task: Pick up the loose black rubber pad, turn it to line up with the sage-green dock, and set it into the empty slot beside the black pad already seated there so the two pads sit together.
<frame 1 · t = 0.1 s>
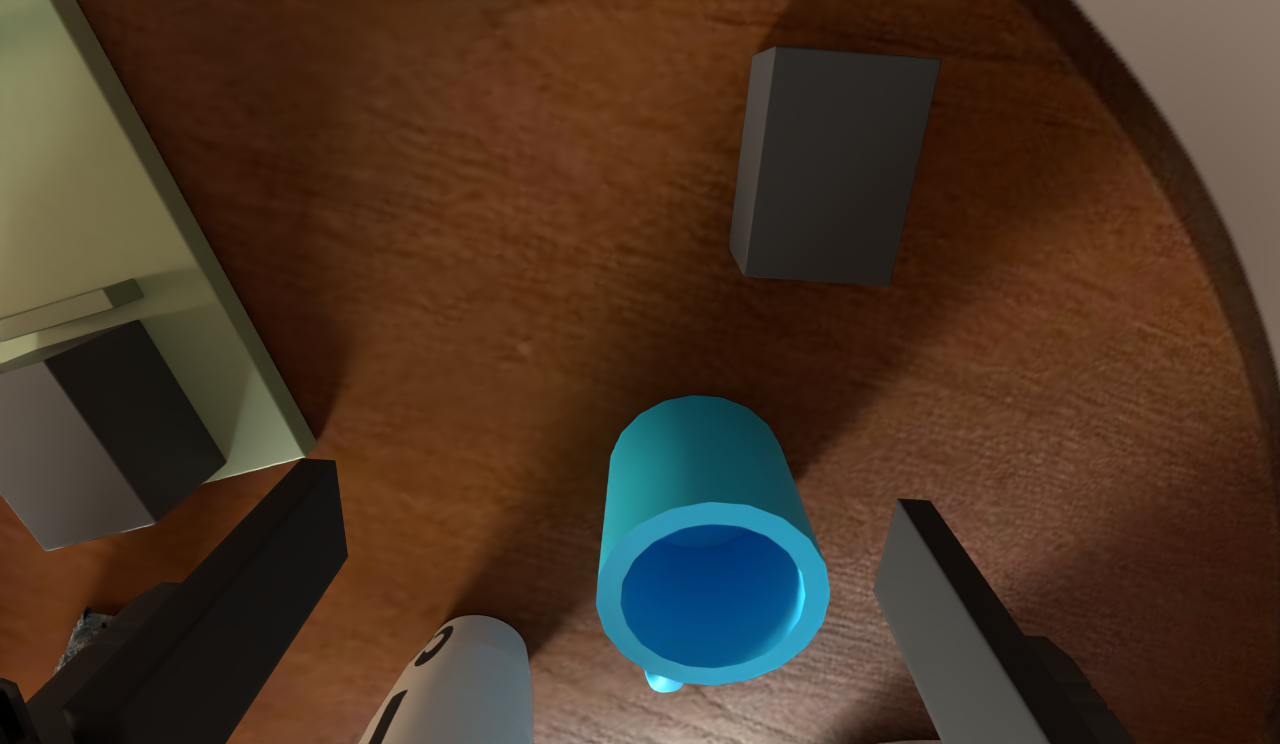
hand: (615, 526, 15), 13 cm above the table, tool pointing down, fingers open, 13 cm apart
dark cylinder on base: (137, 667, 36), on the table
pad: (804, 161, 25), on the table
cup: (481, 648, 35), on the table
mug: (685, 505, 31), on the table
dock: (83, 285, 27), on the table
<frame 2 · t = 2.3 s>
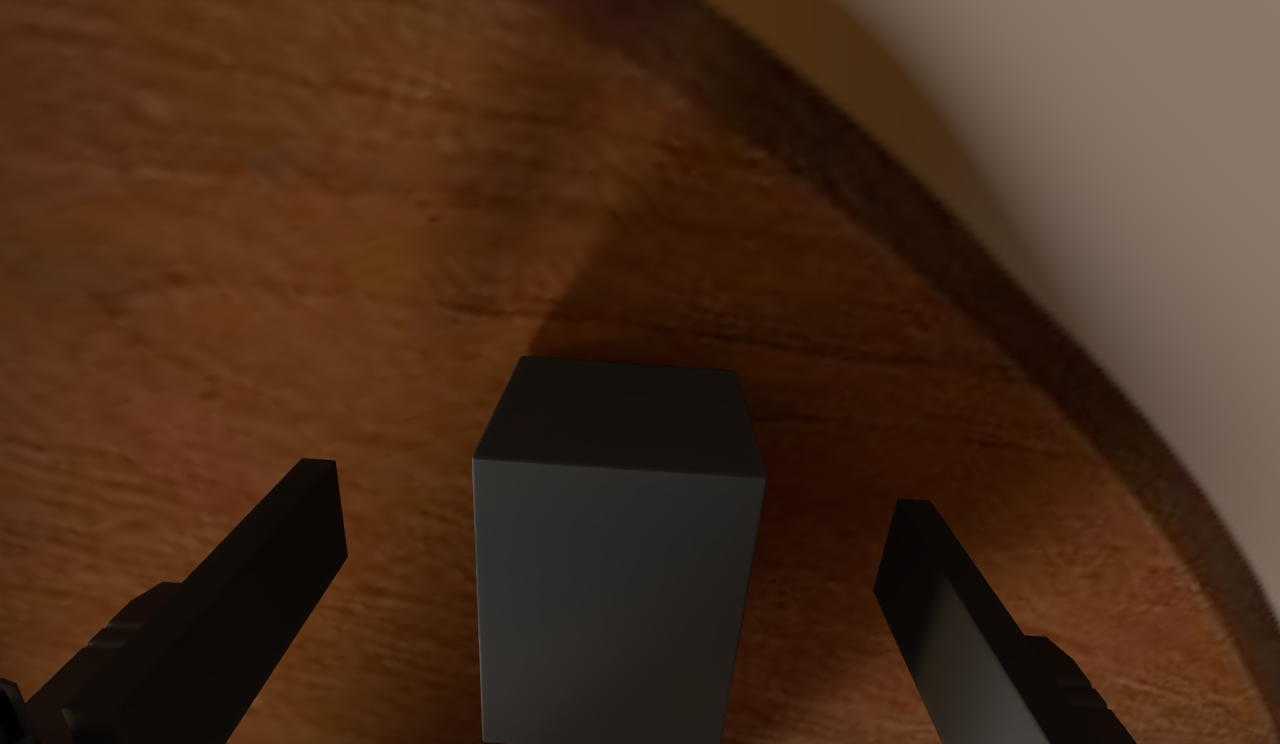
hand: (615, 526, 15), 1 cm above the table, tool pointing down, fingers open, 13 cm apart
pad: (619, 489, 16), on the table
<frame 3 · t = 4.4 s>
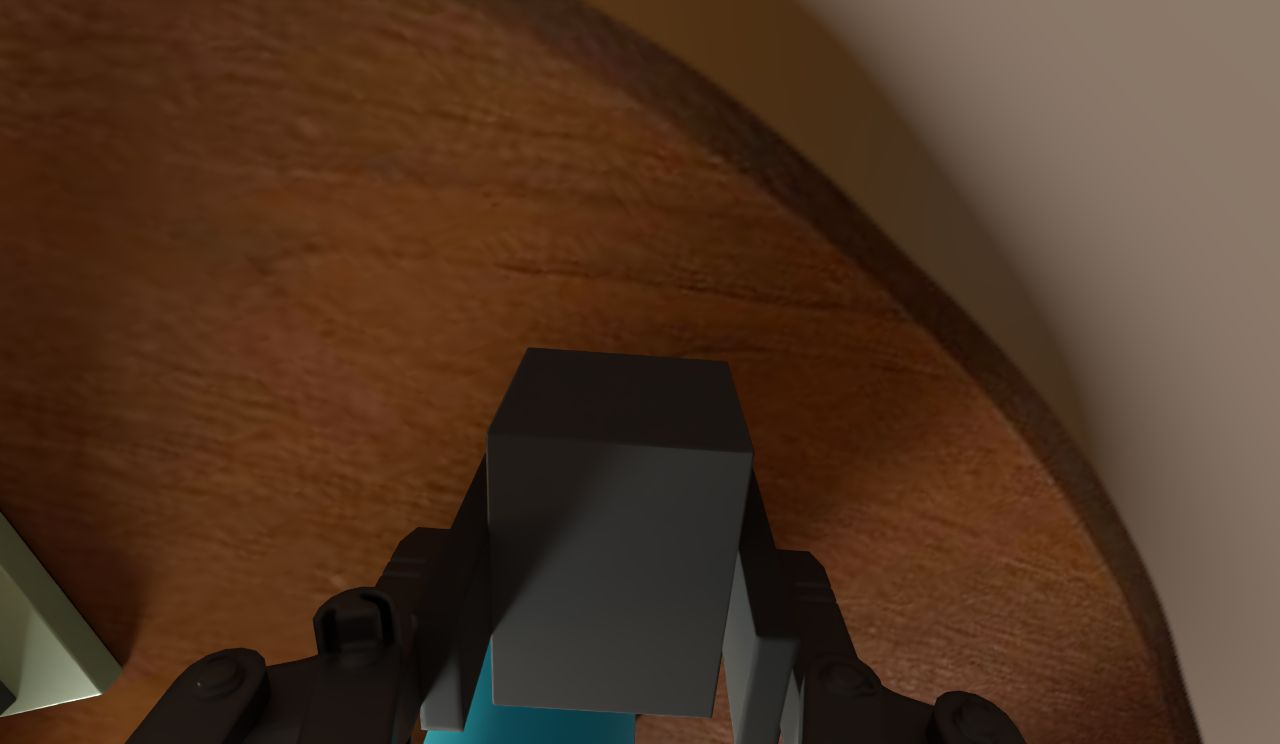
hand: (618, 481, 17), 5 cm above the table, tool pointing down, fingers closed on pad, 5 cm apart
pad: (619, 474, 17), point 5 cm above the table, touching gripper
mug: (532, 727, 28), on the table
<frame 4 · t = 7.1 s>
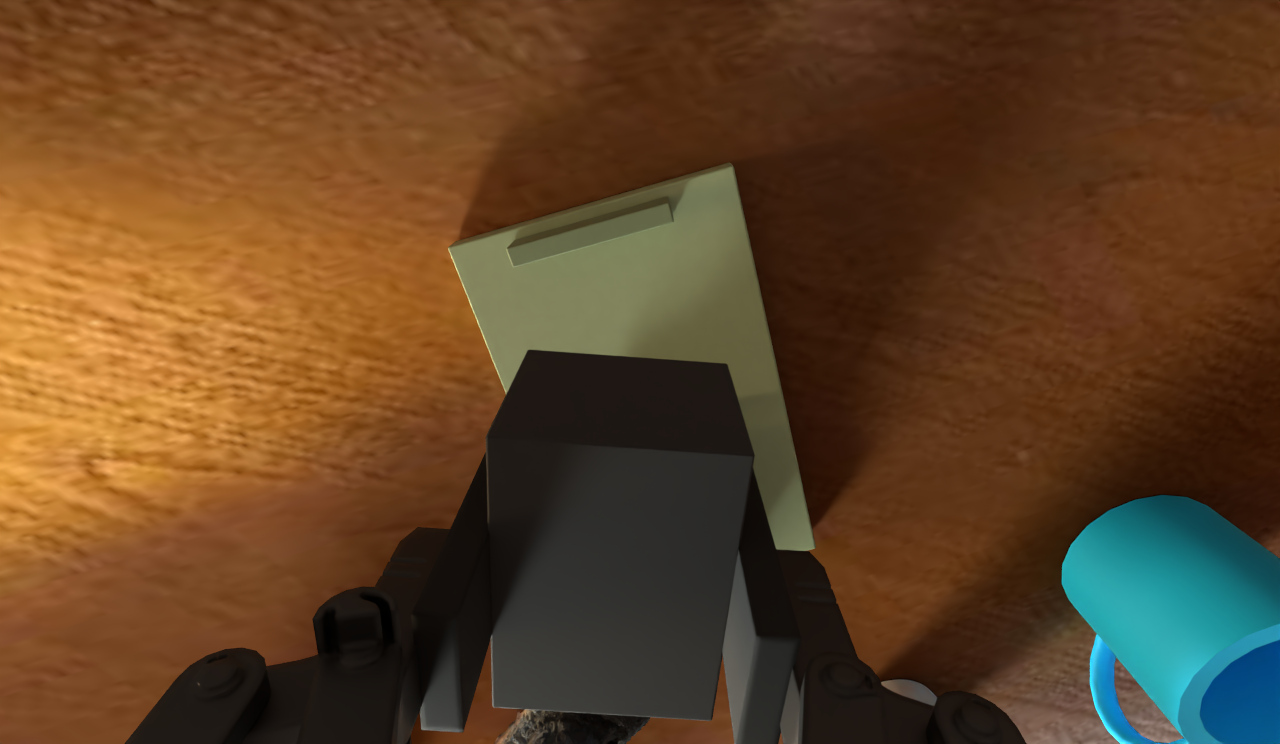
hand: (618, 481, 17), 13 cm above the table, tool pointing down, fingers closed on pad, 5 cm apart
dark cylinder on base: (571, 722, 39), on the table
pad: (619, 476, 17), point 13 cm above the table, touching gripper
cup: (892, 707, 38), on the table
mug: (1120, 586, 35), on the table
dock: (649, 401, 30), on the table
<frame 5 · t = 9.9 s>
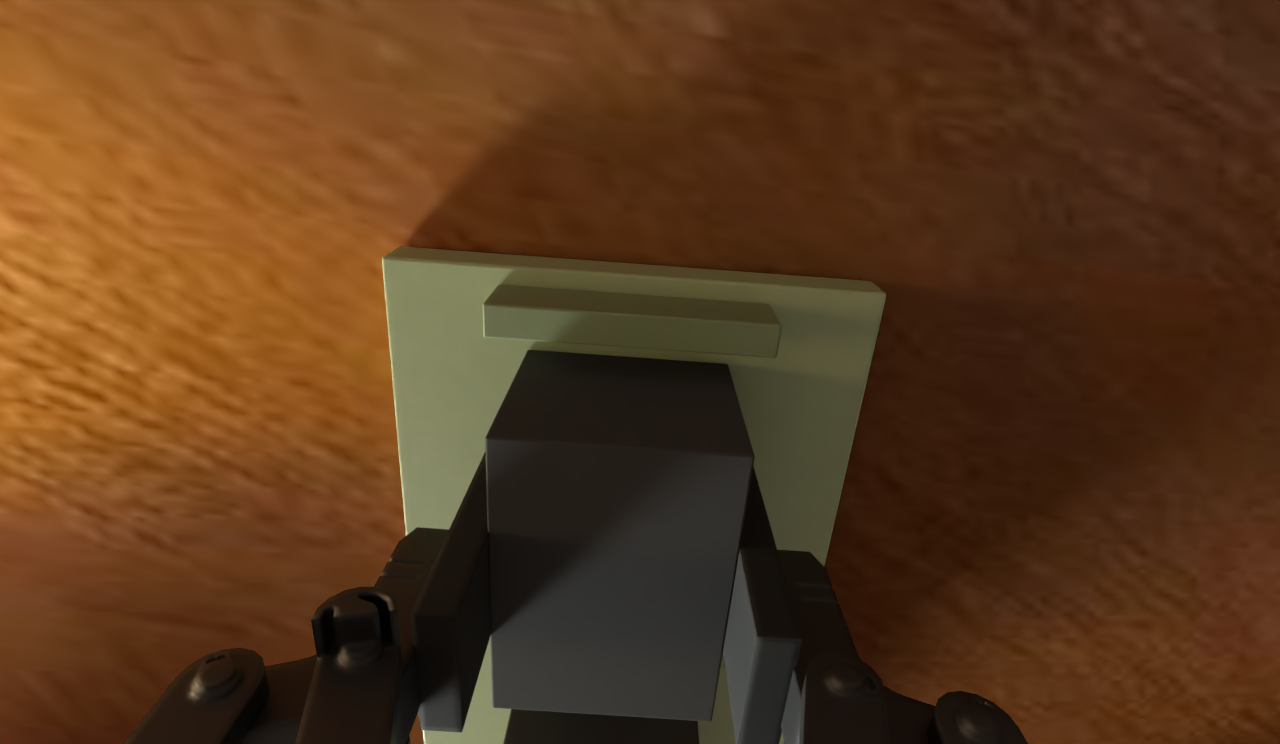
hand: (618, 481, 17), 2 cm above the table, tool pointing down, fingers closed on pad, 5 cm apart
pad: (619, 476, 17), point 1 cm above the table, touching dock, gripper
dock: (615, 564, 20), on the table
when the fingers open (2 cm above the table, at t = 10.2 s): pad stays where it is, resting on dock.
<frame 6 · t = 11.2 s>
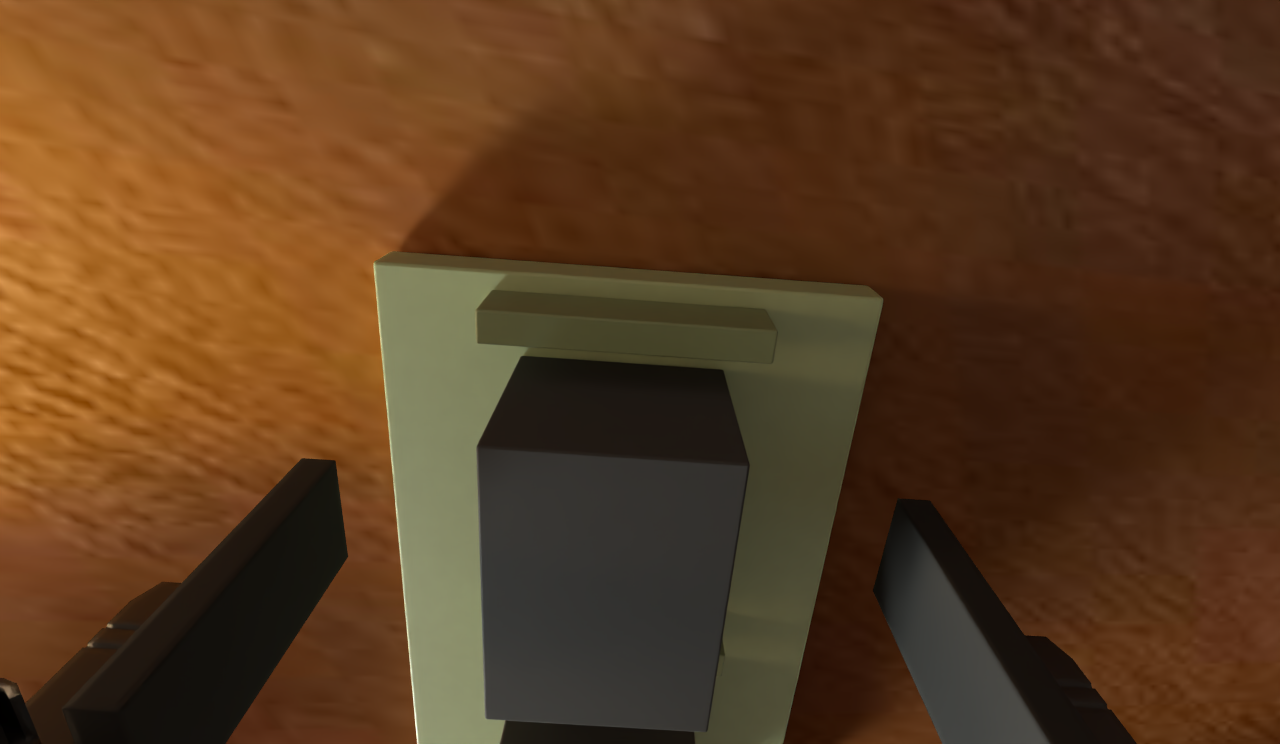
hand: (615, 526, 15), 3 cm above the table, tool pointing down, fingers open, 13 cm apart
pad: (614, 483, 17), point 1 cm above the table, touching dock
dock: (611, 570, 20), on the table
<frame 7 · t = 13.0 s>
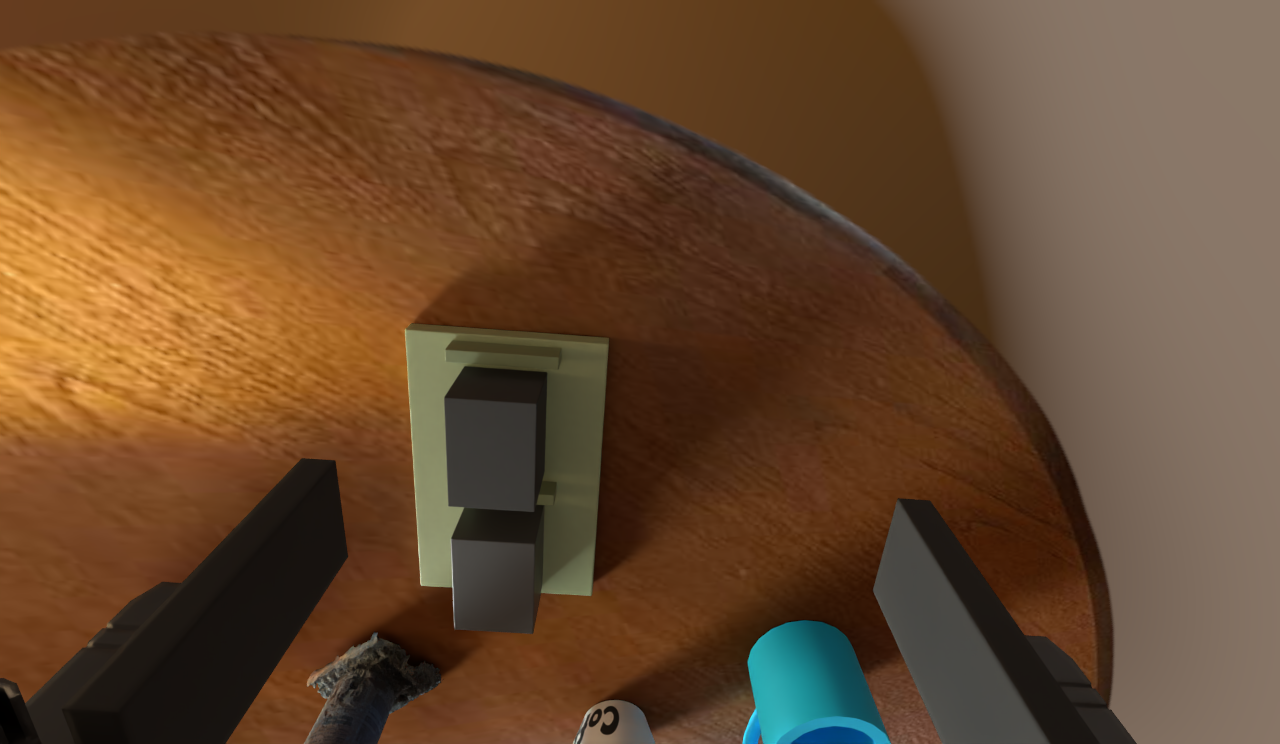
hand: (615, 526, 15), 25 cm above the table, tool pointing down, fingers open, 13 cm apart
dark cylinder on base: (376, 674, 50), on the table
pad: (505, 420, 40), point 1 cm above the table, touching dock
cup: (615, 720, 52), on the table
mug: (784, 674, 50), on the table
dock: (510, 465, 43), on the table
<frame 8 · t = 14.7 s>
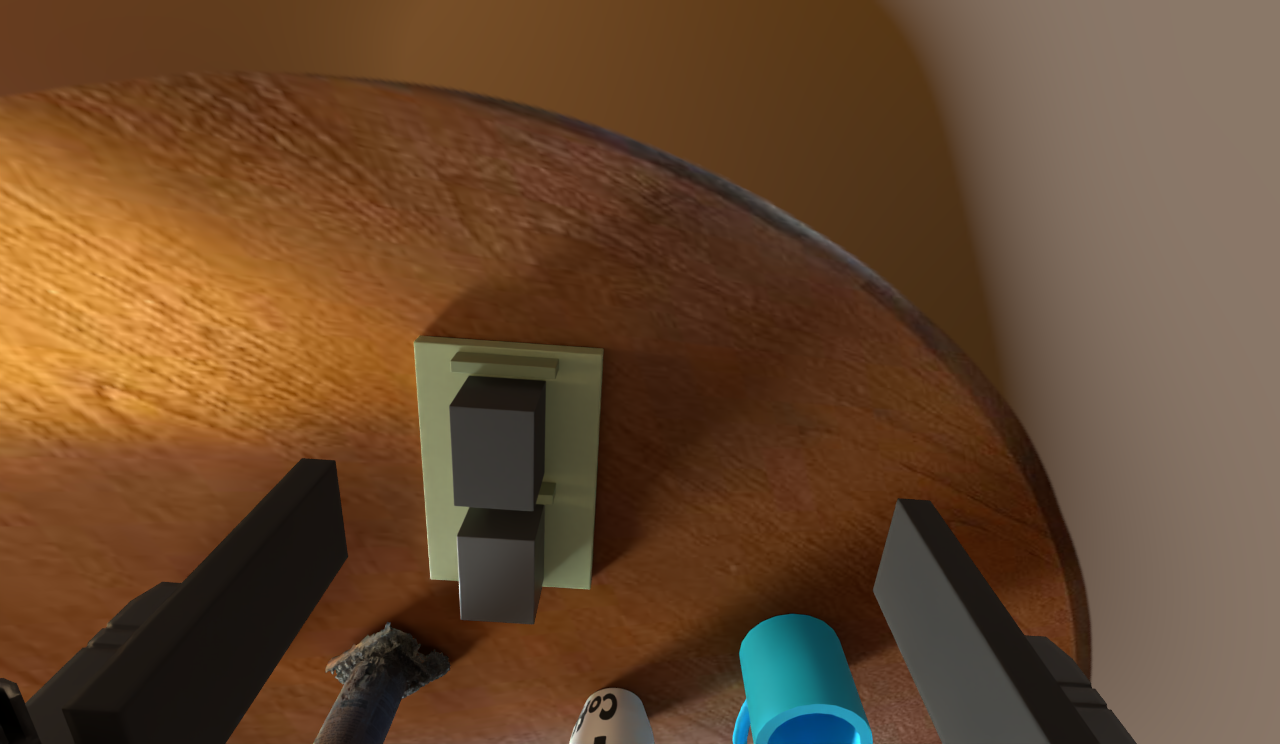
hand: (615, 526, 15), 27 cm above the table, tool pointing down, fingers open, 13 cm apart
dark cylinder on base: (389, 661, 53), on the table
pad: (507, 425, 43), point 1 cm above the table, touching dock
cup: (614, 707, 55), on the table
mug: (774, 665, 53), on the table
dock: (512, 467, 46), on the table
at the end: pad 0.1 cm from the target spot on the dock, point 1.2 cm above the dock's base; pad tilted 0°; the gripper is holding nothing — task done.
